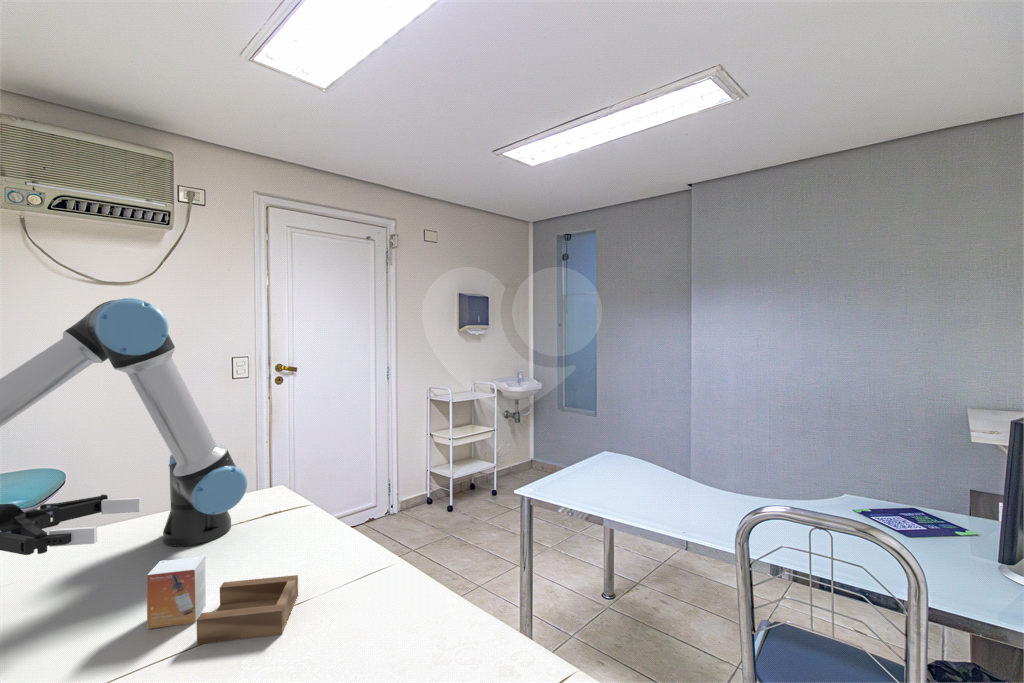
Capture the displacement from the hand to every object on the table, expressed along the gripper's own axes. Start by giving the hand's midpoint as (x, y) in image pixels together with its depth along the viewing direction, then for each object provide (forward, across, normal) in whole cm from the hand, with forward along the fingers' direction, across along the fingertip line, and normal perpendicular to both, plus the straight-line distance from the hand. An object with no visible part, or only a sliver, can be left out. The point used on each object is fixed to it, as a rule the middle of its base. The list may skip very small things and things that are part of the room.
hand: (120, 518), depth 87 cm
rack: (+23, +3, -20) cm, 31 cm away
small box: (+10, 0, -20) cm, 23 cm away
